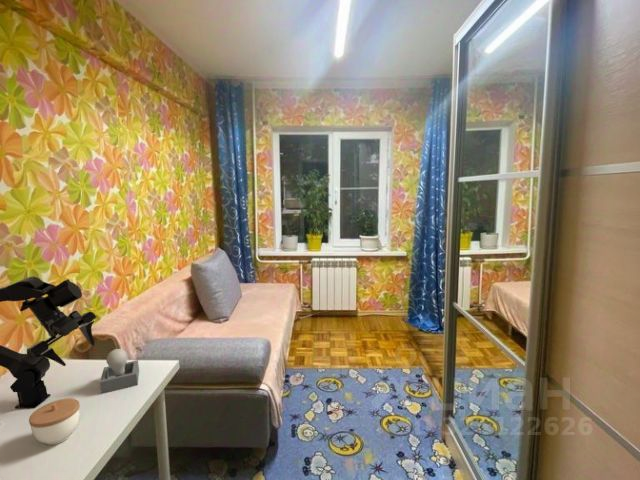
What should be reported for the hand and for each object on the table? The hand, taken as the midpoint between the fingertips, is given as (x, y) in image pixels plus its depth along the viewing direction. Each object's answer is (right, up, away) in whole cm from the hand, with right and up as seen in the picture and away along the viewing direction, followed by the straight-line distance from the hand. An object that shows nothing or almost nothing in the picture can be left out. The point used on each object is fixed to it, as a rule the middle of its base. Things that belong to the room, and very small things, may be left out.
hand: (79, 355), depth 113 cm
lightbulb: (+9, -11, +8) cm, 16 cm away
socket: (+8, -12, +9) cm, 17 cm away
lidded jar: (+6, -16, -17) cm, 25 cm away
